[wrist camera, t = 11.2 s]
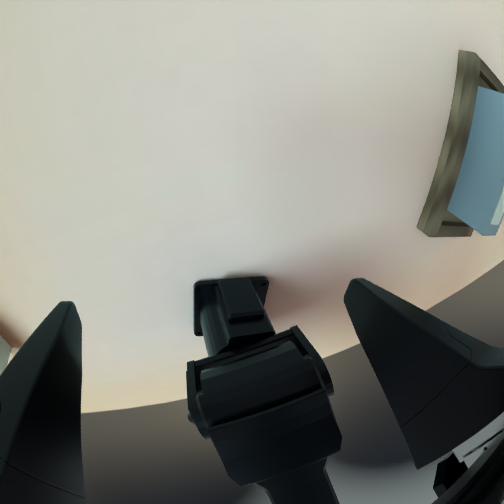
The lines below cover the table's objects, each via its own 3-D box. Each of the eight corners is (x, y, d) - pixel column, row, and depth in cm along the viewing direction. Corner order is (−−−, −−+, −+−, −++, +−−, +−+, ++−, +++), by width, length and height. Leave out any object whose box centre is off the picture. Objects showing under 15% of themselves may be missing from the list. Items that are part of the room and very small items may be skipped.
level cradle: (460, 228, 31) (470, 236, 30) (416, 227, 28) (429, 237, 26) (497, 90, 20) (510, 94, 18) (459, 49, 16) (474, 52, 14)
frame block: (492, 100, 19) (530, 116, 15) (462, 211, 28) (496, 236, 23) (477, 85, 18) (520, 100, 13) (445, 209, 26) (483, 236, 21)
